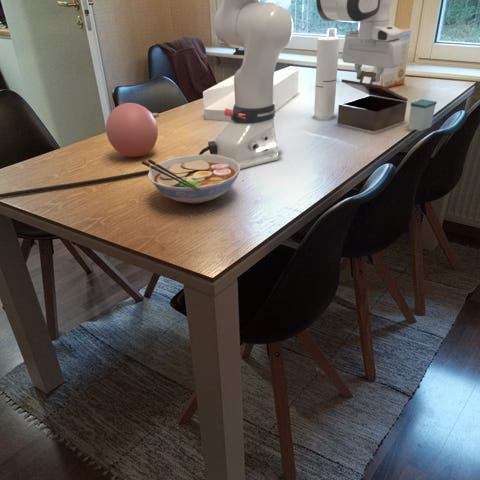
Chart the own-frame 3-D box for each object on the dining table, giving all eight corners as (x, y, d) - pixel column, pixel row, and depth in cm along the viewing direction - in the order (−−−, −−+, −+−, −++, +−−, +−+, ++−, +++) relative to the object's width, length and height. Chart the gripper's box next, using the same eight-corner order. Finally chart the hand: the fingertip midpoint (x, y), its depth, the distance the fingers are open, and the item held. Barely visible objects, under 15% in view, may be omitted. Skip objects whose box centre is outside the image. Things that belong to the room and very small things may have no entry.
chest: (374, 134, 158) (377, 112, 154) (337, 125, 168) (338, 104, 164) (404, 122, 167) (407, 101, 163) (366, 115, 176) (369, 95, 172)
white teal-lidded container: (420, 133, 157) (425, 105, 151) (406, 130, 160) (410, 103, 155) (431, 129, 160) (436, 101, 155) (417, 126, 163) (422, 99, 158)
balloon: (181, 148, 156) (175, 97, 147) (135, 167, 144) (126, 113, 134) (147, 141, 164) (139, 92, 154) (101, 159, 151) (90, 106, 142)
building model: (249, 91, 215) (249, 67, 209) (297, 93, 207) (298, 68, 201) (205, 119, 182) (202, 91, 176) (260, 122, 175) (259, 94, 169)
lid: (380, 88, 150) (386, 72, 149) (341, 81, 160) (345, 66, 158) (407, 101, 162) (412, 86, 161) (368, 94, 172) (373, 80, 170)
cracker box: (394, 82, 215) (401, 27, 203) (404, 84, 211) (412, 28, 199) (370, 87, 210) (376, 31, 197) (380, 89, 206) (387, 32, 193)
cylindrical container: (333, 120, 173) (338, 40, 158) (313, 119, 175) (316, 40, 159) (334, 114, 179) (339, 36, 164) (314, 114, 180) (318, 37, 165)
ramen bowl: (262, 200, 120) (262, 168, 115) (182, 228, 110) (178, 194, 105) (208, 173, 137) (206, 144, 132) (135, 195, 127) (129, 164, 122)
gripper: (339, 30, 153) (336, 78, 161) (394, 34, 140) (388, 86, 149) (352, 27, 156) (348, 74, 165) (407, 31, 143) (400, 82, 152)
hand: (368, 80), depth 157 cm, fingers closed on lid, 5 cm apart
